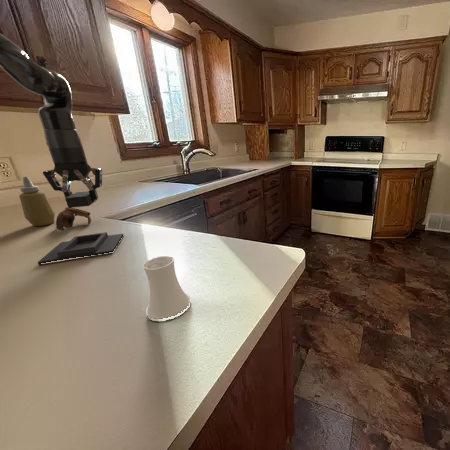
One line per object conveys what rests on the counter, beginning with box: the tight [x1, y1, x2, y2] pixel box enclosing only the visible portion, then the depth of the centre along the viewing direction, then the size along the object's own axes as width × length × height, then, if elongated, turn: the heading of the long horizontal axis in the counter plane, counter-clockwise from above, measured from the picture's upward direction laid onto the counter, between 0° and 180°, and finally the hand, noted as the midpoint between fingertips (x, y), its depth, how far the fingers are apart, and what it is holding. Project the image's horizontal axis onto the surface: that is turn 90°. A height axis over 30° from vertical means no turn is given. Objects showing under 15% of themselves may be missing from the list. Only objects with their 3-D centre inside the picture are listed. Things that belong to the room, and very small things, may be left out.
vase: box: [142, 255, 191, 319], centre depth 45 cm, size 8×8×10 cm
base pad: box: [37, 231, 124, 264], centre depth 72 cm, size 16×14×2 cm
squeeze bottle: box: [18, 176, 56, 227], centre depth 90 cm, size 8×8×18 cm
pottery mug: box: [55, 206, 92, 231], centre depth 89 cm, size 12×10×8 cm
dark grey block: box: [64, 190, 99, 208], centre depth 77 cm, size 5×9×3 cm, turn 24°
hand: (83, 202), depth 77 cm, fingers closed on dark grey block, 5 cm apart
